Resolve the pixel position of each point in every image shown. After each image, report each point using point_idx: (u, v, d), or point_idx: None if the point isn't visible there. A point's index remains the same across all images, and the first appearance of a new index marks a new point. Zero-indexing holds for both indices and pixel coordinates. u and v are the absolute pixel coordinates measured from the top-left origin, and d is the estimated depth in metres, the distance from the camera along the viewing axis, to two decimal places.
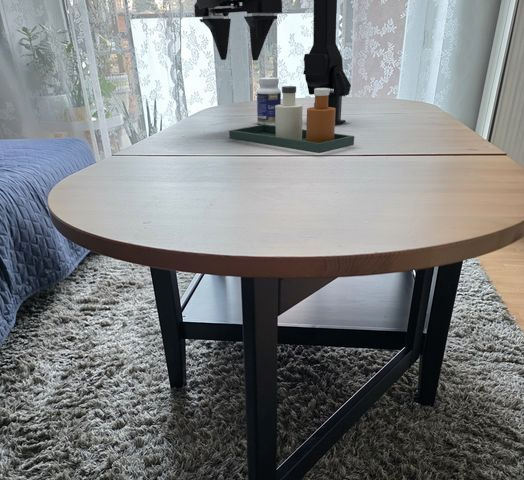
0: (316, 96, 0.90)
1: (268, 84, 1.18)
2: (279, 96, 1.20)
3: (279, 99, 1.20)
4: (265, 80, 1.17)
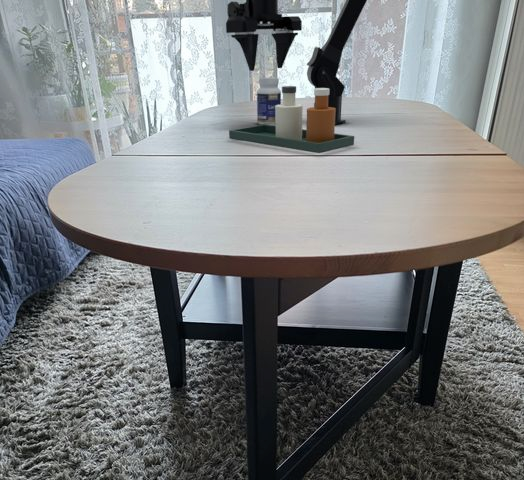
0: (316, 96, 0.90)
1: (268, 84, 1.18)
2: (279, 96, 1.20)
3: (279, 99, 1.20)
4: (265, 80, 1.17)
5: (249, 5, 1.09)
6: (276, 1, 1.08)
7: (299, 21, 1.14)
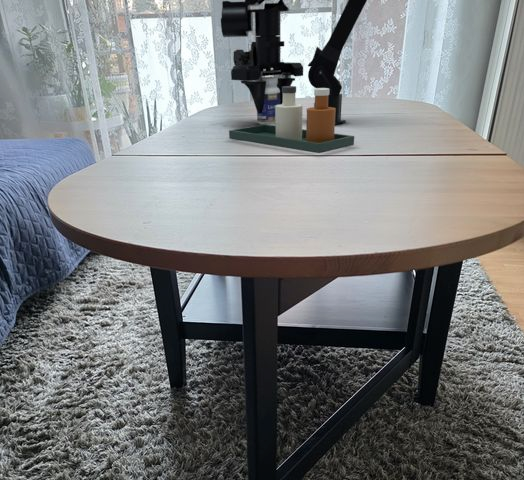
0: (316, 96, 0.90)
1: (267, 84, 1.18)
2: (278, 96, 1.20)
3: (278, 99, 1.20)
4: (264, 80, 1.17)
5: (253, 53, 1.16)
6: (279, 51, 1.15)
7: (301, 67, 1.21)
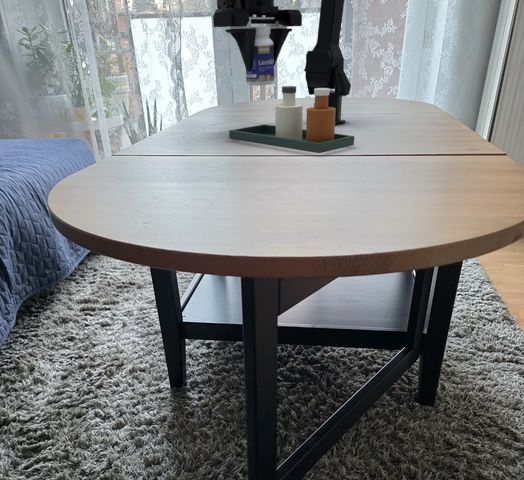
0: (316, 96, 0.90)
1: (257, 34, 0.96)
2: (271, 49, 0.99)
3: (271, 53, 0.99)
4: None
5: None
6: None
7: (299, 15, 1.00)
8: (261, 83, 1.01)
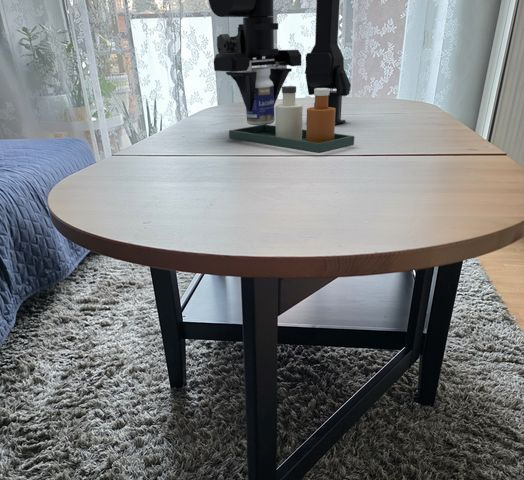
0: (316, 96, 0.90)
1: (257, 76, 0.97)
2: (272, 90, 0.99)
3: (272, 93, 1.00)
4: (254, 71, 0.97)
5: (241, 39, 0.96)
6: (272, 35, 0.95)
7: (298, 55, 1.00)
8: (262, 123, 1.01)
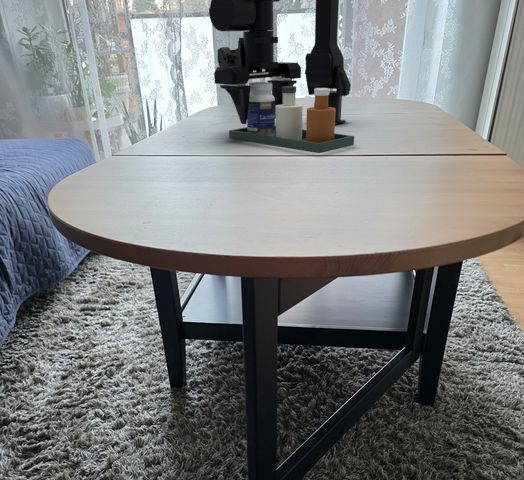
0: (316, 96, 0.90)
1: (259, 90, 0.99)
2: (273, 104, 1.01)
3: (273, 108, 1.01)
4: (256, 85, 0.98)
5: (241, 52, 0.97)
6: (271, 48, 0.96)
7: (298, 68, 1.01)
8: None
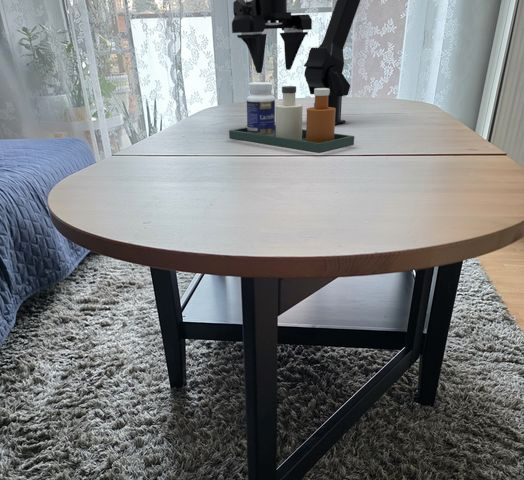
0: (316, 96, 0.90)
1: (259, 90, 0.99)
2: (273, 104, 1.01)
3: (273, 108, 1.01)
4: (256, 85, 0.98)
5: (256, 3, 1.03)
6: None
7: (309, 20, 1.07)
8: None
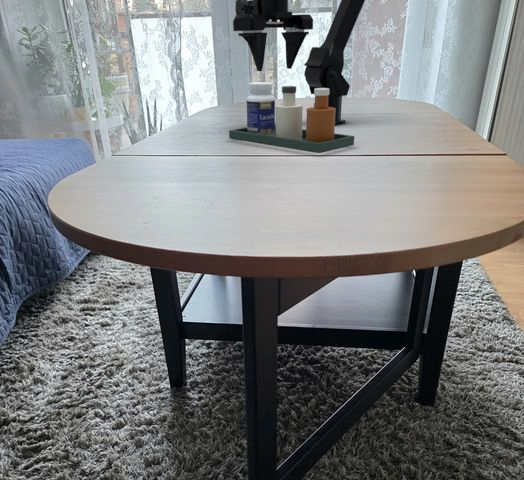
0: (316, 96, 0.90)
1: (259, 90, 0.99)
2: (273, 104, 1.01)
3: (273, 108, 1.01)
4: (256, 85, 0.98)
5: (258, 2, 1.04)
6: None
7: (310, 19, 1.09)
8: None
